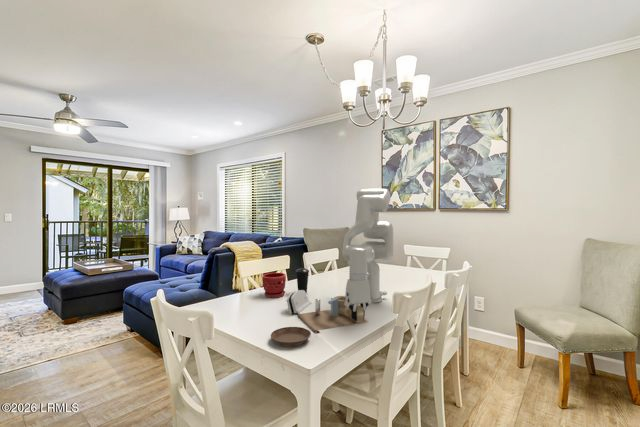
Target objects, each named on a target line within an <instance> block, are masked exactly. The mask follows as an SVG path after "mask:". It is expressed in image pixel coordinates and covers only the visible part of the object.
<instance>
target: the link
mask: <svg viewBox="0 0 640 427" xmlns="http://www.w3.org/2000/svg"><path fill="white" fill-rule="evenodd" d="M333 298H337V299H338V314H344V315H346V316H348V317H349V318H351V319H352V317H351V310H350V308H349V307H347V306H345V305H344V303H345V301H346V300H345V295H337V296H334V297H333ZM349 304H350V302H349ZM356 311H357V321H355V320H354V321H355V322H357V323H359V322H363V320H364V319H365V317H364V308H363V307H361V306H360V304H356ZM352 320H353V319H352ZM359 324H360V323H359Z"/></svg>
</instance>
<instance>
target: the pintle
mask: <svg viewBox="0 0 640 427" xmlns="http://www.w3.org/2000/svg"><path fill="white" fill-rule="evenodd" d="M314 301H315V306H314V309H315V311H314V312H315V315H316V316H319V315H320V311H321V299H320V298H315V300H314Z"/></svg>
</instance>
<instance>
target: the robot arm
mask: <svg viewBox="0 0 640 427" xmlns="http://www.w3.org/2000/svg"><path fill="white" fill-rule="evenodd" d="M355 196H356V200H357V204H356V211H355V212H356V213H355V223H354V224H353V225H352V227H350V228H349V229H348V231H347V232H346V234H345V235H344V238H343V244H342V258H343V260H345V261H346V262H349V271H348V272H349V276H348V277H349V279H347V281H346V284H345V285H346V286H345V295H344V296H345V300H346V301H345V303H344V305H345V306H347V307H349V308H350V310H351V317H352V319H353V320H355V321H357V311H356V304H358V305H360V306H361V307H363V308H364V318H366V317H365V316H366V315H365V314H366V309H367V308H368V306H369V305H370V304H371V303H372V304H373V303H374V304H376V303H380V302H382V301H383V296H387V295H388V292H387V291H382V290H380V284H381V283H380V271H381V269H380V266H379V264H378V263H377V261H376V260H382V261H383V260H384V261H389V260H392V258H393V256H394V227H393V224H392V223H391V222H390V221H386V220H385V221H384V220H383V221H380V220H379V219H380V218H379V217H380V213H386V211H388V209H389V205H390V201H391V192H390V190H388V188H364V189H359V190H357V191H356V195H355ZM360 234H362V235H363V237H364V238H365V239H369V240H368V241H363V242H361V243H360V244H351V242H352V241H353V239H354V238H355V237H356V236H358V235H360ZM373 240H375V241H373ZM376 240H383V241H376ZM349 302H350V304H349Z"/></svg>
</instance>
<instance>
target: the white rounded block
mask: <svg viewBox="0 0 640 427" xmlns="http://www.w3.org/2000/svg"><path fill="white" fill-rule="evenodd" d="M286 304H287V307H288V312H289V315H293V314H297V313H298V314H301V313H302V312H303V311H304V310H305V309H307V308H308V307H309V306H310V305H312V304H313V303H312V301H310V300H309V298H308V295H307V294H306V292H305V291H304V290H298V289H297V290H295V291H293V292H291V293H290V294H289V295H288V296H287V299H286ZM298 314H297V315H298Z"/></svg>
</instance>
